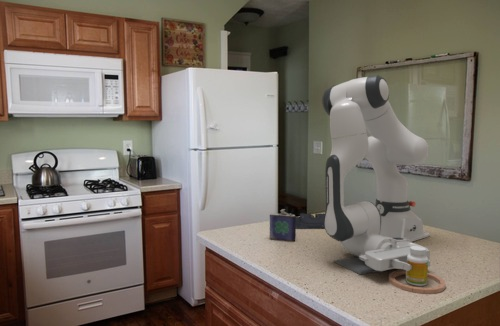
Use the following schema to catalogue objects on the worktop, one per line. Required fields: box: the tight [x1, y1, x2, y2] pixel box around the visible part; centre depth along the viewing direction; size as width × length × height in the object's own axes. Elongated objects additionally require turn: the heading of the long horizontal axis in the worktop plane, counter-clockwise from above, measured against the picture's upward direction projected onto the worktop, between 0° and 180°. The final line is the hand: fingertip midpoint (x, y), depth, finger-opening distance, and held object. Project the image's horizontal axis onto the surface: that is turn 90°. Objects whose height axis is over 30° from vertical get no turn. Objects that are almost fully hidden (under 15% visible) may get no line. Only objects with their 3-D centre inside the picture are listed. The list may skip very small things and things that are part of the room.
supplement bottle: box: [405, 246, 429, 287], centre depth 110 cm, size 5×5×10 cm
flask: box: [269, 208, 297, 243], centre depth 150 cm, size 10×3×12 cm, turn 71°
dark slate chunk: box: [295, 212, 325, 230], centre depth 173 cm, size 15×22×5 cm
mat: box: [333, 256, 378, 276], centre depth 124 cm, size 14×12×1 cm
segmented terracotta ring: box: [388, 269, 447, 295], centre depth 110 cm, size 14×14×1 cm
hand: (419, 265), depth 109 cm, fingers closed on supplement bottle, 5 cm apart
